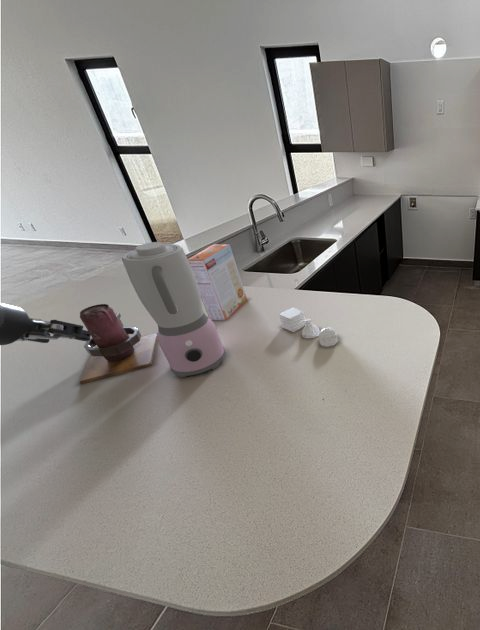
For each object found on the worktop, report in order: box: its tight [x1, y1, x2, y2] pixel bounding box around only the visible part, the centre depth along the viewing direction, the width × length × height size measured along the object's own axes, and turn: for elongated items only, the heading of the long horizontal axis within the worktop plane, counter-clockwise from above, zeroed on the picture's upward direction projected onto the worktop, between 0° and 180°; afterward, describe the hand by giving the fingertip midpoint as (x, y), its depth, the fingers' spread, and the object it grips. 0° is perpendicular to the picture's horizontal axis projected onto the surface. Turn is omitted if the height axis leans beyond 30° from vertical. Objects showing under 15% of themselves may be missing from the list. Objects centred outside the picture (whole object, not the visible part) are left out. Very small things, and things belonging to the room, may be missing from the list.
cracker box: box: [187, 243, 248, 321], centre depth 105 cm, size 14×6×21 cm, turn 178°
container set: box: [279, 307, 339, 348], centre depth 97 cm, size 20×5×6 cm, turn 57°
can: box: [79, 303, 134, 361], centre depth 84 cm, size 6×6×14 cm
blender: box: [121, 241, 227, 378], centre depth 77 cm, size 16×12×32 cm
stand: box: [78, 312, 158, 385], centre depth 86 cm, size 14×16×10 cm
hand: (68, 337), depth 74 cm, fingers open, 8 cm apart
